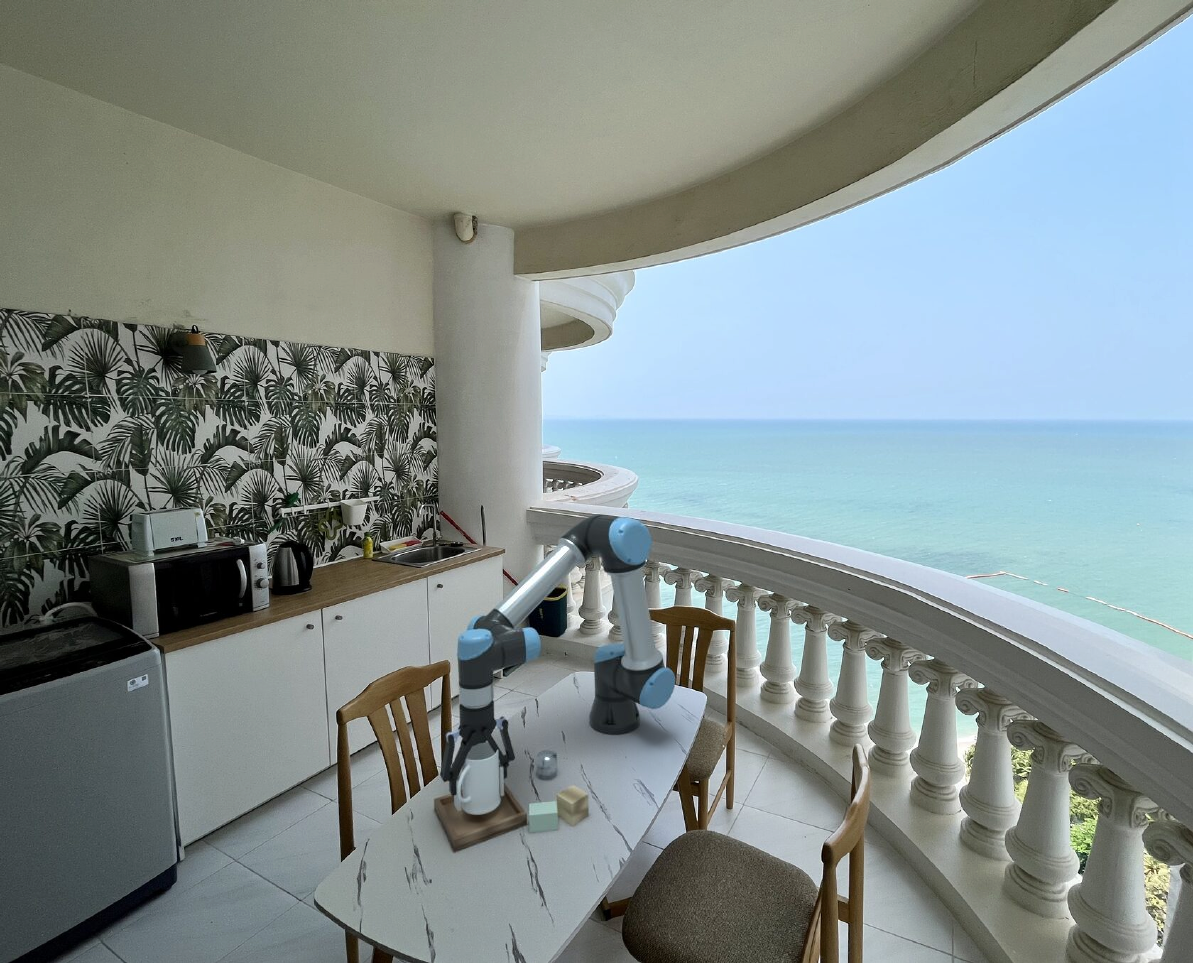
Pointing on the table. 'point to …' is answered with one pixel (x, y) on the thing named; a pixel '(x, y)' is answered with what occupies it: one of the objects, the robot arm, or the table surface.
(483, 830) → the tray
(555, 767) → the grey tin
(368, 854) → the table surface
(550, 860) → the table surface
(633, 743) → the table surface
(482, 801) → the mug
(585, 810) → the oak block
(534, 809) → the sage block
